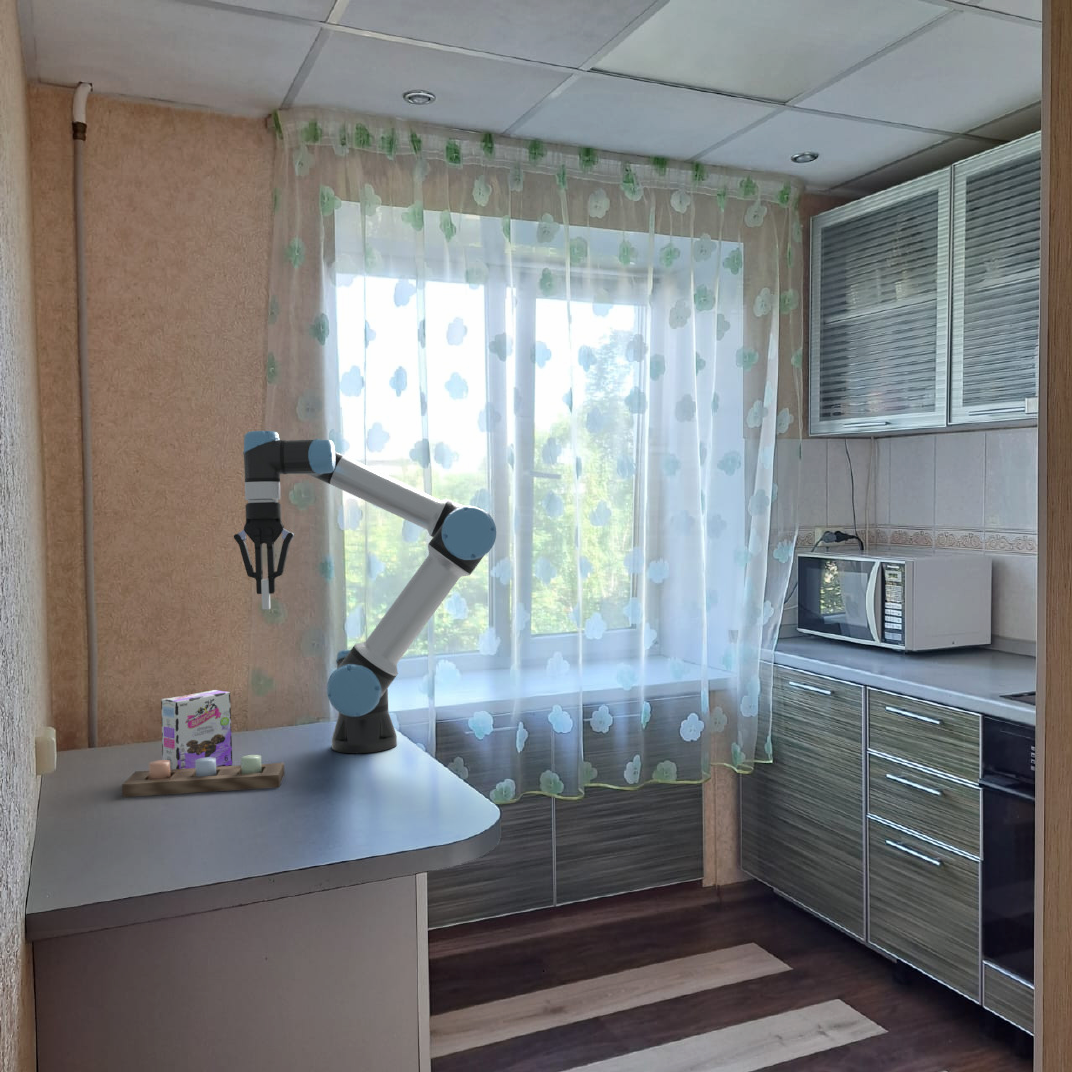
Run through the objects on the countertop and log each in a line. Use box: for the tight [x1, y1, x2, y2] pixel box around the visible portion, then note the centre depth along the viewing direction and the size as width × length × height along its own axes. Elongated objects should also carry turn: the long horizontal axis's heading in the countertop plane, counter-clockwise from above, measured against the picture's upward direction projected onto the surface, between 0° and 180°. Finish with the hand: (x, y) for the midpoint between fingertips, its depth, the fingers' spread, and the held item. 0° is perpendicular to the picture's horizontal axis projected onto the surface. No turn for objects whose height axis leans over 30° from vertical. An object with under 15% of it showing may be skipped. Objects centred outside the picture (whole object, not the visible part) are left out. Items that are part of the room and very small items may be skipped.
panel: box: [121, 762, 286, 798], centre depth 199 cm, size 30×10×2 cm, turn 98°
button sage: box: [240, 754, 262, 774], centre depth 200 cm, size 4×4×4 cm
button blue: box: [195, 757, 216, 777], centre depth 199 cm, size 4×4×4 cm
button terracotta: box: [148, 759, 171, 780], centre depth 198 cm, size 4×4×4 cm
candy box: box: [160, 689, 233, 769], centre depth 212 cm, size 14×6×16 cm, turn 143°
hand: (266, 608), depth 215 cm, fingers closed
